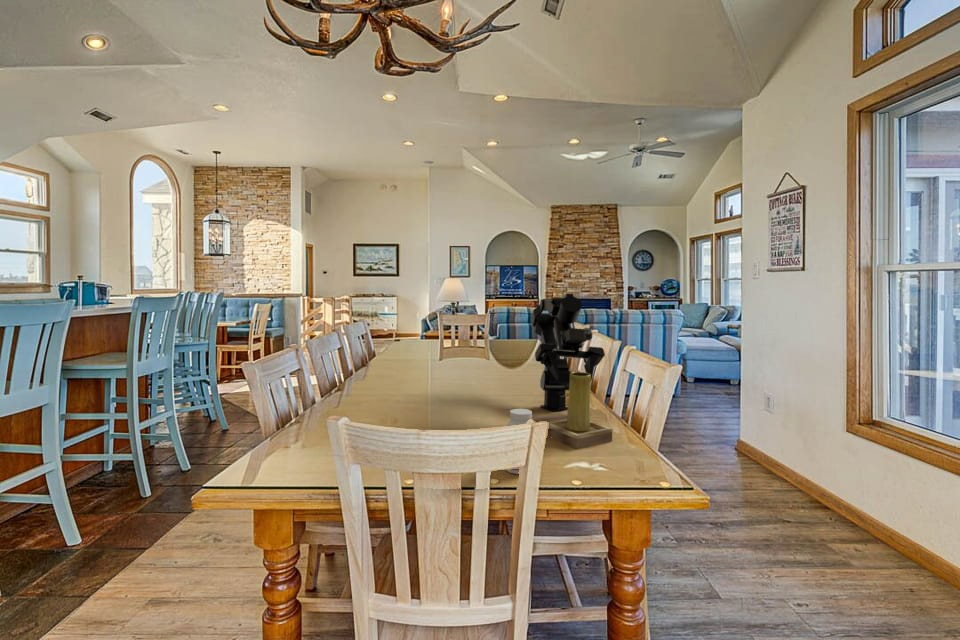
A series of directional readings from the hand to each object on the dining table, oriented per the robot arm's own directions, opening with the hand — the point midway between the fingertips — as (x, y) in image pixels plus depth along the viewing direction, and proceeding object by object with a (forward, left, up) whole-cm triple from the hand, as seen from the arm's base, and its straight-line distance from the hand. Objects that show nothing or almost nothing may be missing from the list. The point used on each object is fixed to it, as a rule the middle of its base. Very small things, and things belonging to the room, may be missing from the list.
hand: (574, 380), depth 141 cm
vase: (+7, -4, -11) cm, 14 cm away
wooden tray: (+3, -4, -13) cm, 14 cm away
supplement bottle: (+17, -30, -14) cm, 37 cm away
